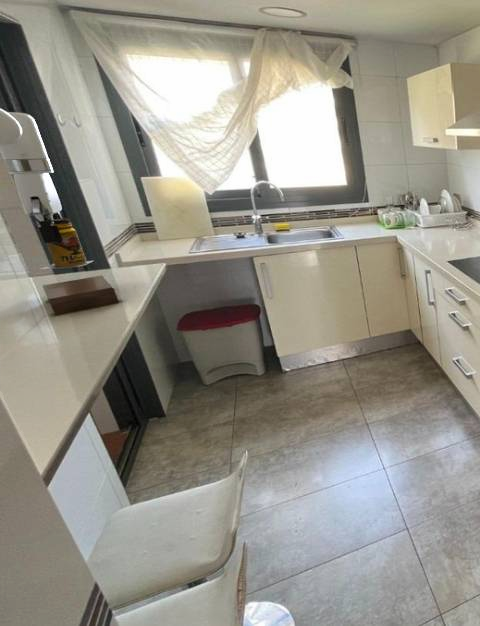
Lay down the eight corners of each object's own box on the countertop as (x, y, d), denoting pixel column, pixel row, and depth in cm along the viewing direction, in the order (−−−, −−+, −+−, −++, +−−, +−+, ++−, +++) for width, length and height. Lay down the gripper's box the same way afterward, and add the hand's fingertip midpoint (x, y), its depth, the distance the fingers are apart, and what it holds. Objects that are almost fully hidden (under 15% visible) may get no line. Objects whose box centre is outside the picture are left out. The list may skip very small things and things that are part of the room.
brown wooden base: (55, 315, 104) (47, 299, 102) (48, 300, 114) (42, 285, 112) (119, 302, 112) (113, 287, 110) (108, 289, 121) (102, 275, 120)
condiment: (81, 266, 119) (65, 220, 115) (38, 270, 116) (19, 222, 112) (94, 261, 125) (79, 217, 121) (53, 264, 122) (36, 219, 118)
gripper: (19, 166, 117) (47, 236, 123) (-7, 168, 103) (25, 247, 109) (60, 165, 121) (85, 233, 127) (40, 167, 107) (69, 243, 113)
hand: (57, 239), depth 118 cm, fingers closed on condiment, 6 cm apart
